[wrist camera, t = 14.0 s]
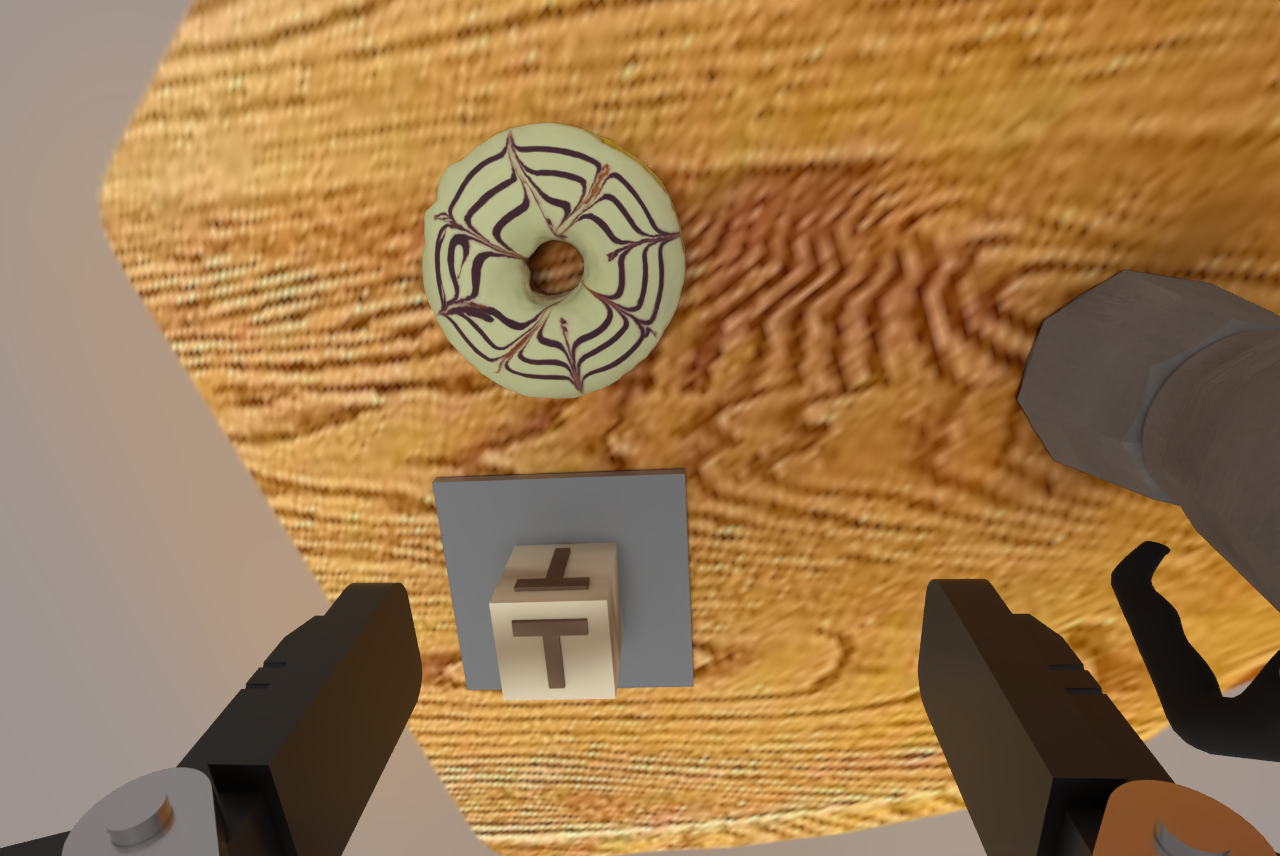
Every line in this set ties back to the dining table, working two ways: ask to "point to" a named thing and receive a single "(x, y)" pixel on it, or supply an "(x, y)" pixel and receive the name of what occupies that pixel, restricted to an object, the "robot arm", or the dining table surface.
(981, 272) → the dining table surface
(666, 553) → the slate coaster
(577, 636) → the letter block
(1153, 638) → the coffeepot
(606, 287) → the decorated donut
